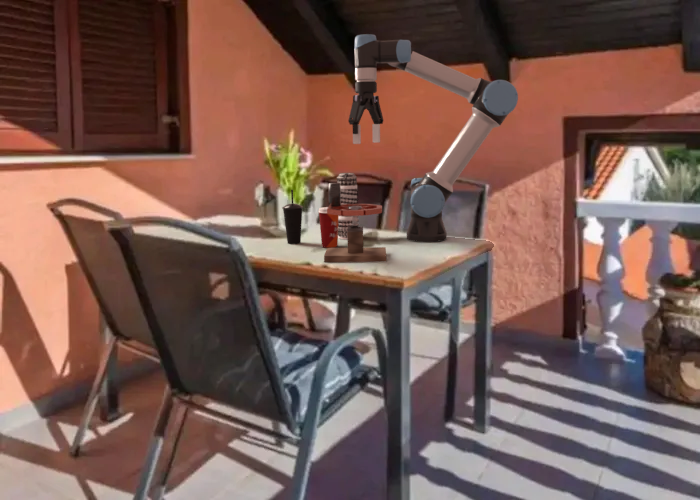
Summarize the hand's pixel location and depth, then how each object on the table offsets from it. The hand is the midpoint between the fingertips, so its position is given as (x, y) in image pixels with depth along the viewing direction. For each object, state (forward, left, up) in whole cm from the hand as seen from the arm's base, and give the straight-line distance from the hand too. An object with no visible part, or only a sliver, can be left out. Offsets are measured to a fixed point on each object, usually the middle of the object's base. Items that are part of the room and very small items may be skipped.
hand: (366, 143), depth 237 cm
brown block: (+4, +22, -37) cm, 43 cm away
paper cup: (+14, +1, -37) cm, 39 cm away
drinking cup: (+28, -7, -37) cm, 47 cm away
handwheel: (+4, +22, -27) cm, 35 cm away
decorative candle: (+8, -17, -37) cm, 41 cm away
